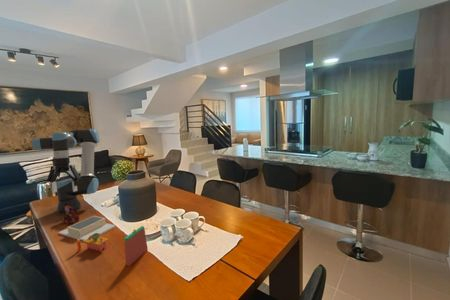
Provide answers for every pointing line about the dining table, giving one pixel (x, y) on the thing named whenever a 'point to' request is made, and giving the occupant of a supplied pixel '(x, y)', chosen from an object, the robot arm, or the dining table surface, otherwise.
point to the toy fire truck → (70, 215)
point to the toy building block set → (133, 244)
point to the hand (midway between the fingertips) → (64, 191)
